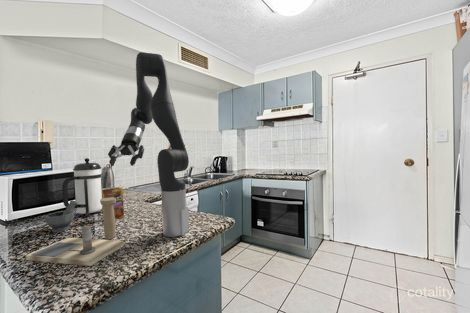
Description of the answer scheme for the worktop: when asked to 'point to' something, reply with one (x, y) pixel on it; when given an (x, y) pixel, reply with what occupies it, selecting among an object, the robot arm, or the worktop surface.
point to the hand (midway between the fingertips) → (121, 164)
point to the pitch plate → (76, 250)
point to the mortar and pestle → (61, 218)
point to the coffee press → (85, 188)
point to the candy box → (118, 205)
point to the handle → (109, 217)
